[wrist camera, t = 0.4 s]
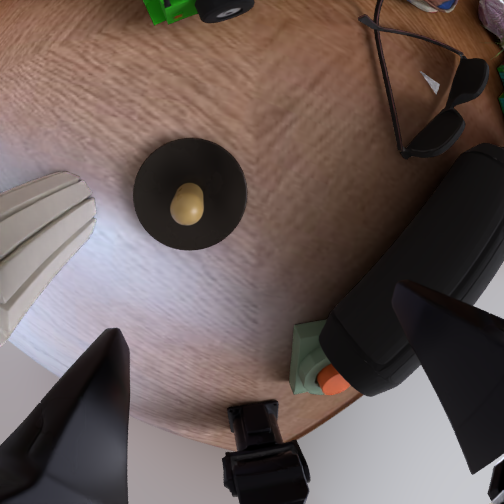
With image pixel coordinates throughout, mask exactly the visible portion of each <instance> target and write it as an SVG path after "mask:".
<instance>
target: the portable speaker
mask: <svg viewBox="0 0 504 504" xmlns="http://www.w3.org/2000/svg"><path fill="white" fill-rule="evenodd" d="M503 261H504V149H503V148H501V147H499V146H497V145H494V144H490V143H482V144H478V145H476V146H475V147H473V148H471V149H469V150H467V151H466V152H464V153H462V154H461V155H460V156H459V158H458V159H457V160H456V162H455V163H454V165H453V166H452V168H451V169H450V171H449V172H448V173H447V175H446V176H445V178H444V179H443V181H442V182H441V183H440V185H439V186H438V188H437V189H436V190H435V192H434V193H433V194H432V196H431V197H430V198H429V200H428V201H427V202H426V204H425V205H424V206H423V208H422V209H421V210H420V211H419V213H418V214H417V215H416V217H415V218H414V219H413V220H412V222H411V223H410V224H409V225H408V227H407V228H406V229H405V230H404V232H403V233H402V234H401V235H400V236H399V238H398V239H397V240H396V241H395V242H394V244H393V245H392V246H391V247H390V248H389V249H388V251H387V252H386V253H385V254H384V255H383V256H382V257H381V259H380V260H379V261H378V262H377V263H376V264H375V265H374V266H373V268H372V269H371V270H370V271H369V272H368V273H367V274H366V275H365V276H364V277H363V279H362V280H361V281H360V282H359V283H358V284H357V285H356V286H355V287H354V288H353V289H352V290H351V291H350V292H349V293H348V294H347V295H346V296H345V297H344V299H343V300H342V301H341V302H340V303H339V304H338V305H337V306H336V307H335V308H334V310H333V311H331V313H330V315H329V317H328V319H327V321H326V323H325V325H324V327H323V329H322V331H321V333H320V335H319V343H320V346H321V348H322V350H323V352H324V354H325V355H326V357H327V358H328V360H329V361H330V363H331V364H332V365H333V367H334V368H335V369H336V370H337V371H338V373H339V374H340V375H341V376H342V377H343V378H344V379H345V380H346V381H347V382H348V383H349V384H350V385H351V386H352V387H353V388H355V389H356V390H357V391H359V392H360V393H362V394H363V395H366V396H370V397H371V396H375V395H377V394H379V393H382V392H385V391H387V390H390V389H392V388H394V387H396V386H398V385H399V384H401V383H402V382H403V381H404V380H405V379H406V378H407V377H408V376H409V375H410V374H412V373H413V371H415V370H416V369H417V368H418V367H419V366H420V365H421V363H420V361H419V360H418V358H417V356H416V354H415V352H414V351H413V349H412V347H411V345H410V343H409V342H408V339H407V337H406V335H405V333H404V331H403V329H402V326H401V324H400V322H399V320H398V318H397V316H396V314H395V312H394V310H393V307H392V297H393V293H394V290H395V286H396V283H397V282H398V281H401V280H406V279H408V280H411V281H413V282H416V283H418V284H421V285H423V286H426V287H428V288H431V289H433V290H436V291H438V292H441V293H443V294H446V295H448V296H450V297H453V298H455V299H458V300H460V301H462V302H465V303H467V304H470V305H472V306H473V305H474V304H475V302H476V301H477V300H478V298H479V297H480V296H481V294H482V293H483V291H484V290H485V289H486V287H487V286H488V284H489V283H490V281H491V280H492V279H493V277H494V276H495V274H496V272H497V271H498V269H499V268H500V266H501V265H502V263H503Z"/></svg>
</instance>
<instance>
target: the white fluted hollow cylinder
mask: <svg viewBox="0 0 504 504" xmlns="http://www.w3.org/2000/svg"><path fill="white" fill-rule="evenodd" d="M78 181H79V176H76V175H74V174H72V173H69V172H64V173H63V171H60V172H56V173H52V174H49V175H46V176H43V177H40V178H37V179H35V180H32V181H29V182H27V183H24V184H21V185H19V186H16V187H14V188H11V189H9V190H7V191H4V192H2V193H0V347H1V346H2V345H3V344H4V343H5V342H6V341H7V339H8V338H9V337H10V335H11V334H12V332H13V331H14V329H15V328H16V327H17V325H18V324H19V322H20V321H21V319H22V318H23V317H24V315H25V314H26V313H27V311H28V310H29V309H30V307H31V306H32V305H33V303H34V302H35V301H36V299H37V298H38V297H39V295H40V294H41V293H42V292H43V290H44V289H45V288H46V287H47V285H48V284H49V283H50V282H51V281H52V279H53V278H54V277H55V276H56V275H57V273H58V272H59V271H60V270H61V269H62V268H63V267H64V265H65V264H66V263H67V262H68V261H69V260H70V259H71V257H72V256H73V255H74V254H75V253H76V252H77V251H78V250H79V249H80V248H81V247H82V245H83V244H84V243H85V242H86V241H87V240H88V239H89V238H90V237H89V236H90V235H91V234H92V233H93V230H94V226H95V223H96V218H93V217H94V216H95V215H96V214H97V212H96V206H95V200H94V198H90V199H87V198H88V197H89V196H90V195H91V194H92V192H91V190H90V189H89V187H88V186H87V185H86V183H85V182H84V180H82V181H80V182H78Z"/></svg>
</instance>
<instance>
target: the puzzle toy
mask: <svg viewBox="0 0 504 504" xmlns="http://www.w3.org/2000/svg"><path fill="white" fill-rule="evenodd" d="M497 69H498V72H499V74H500V77H501V79H502V82H503V85H504V62H503V63H502V64H501V65H500V66H499V67H498V68H497ZM498 99H499V102H500V105H501V108H502V111H503V114H504V92H503V93H502V94H501V95H500V96H499V98H498Z"/></svg>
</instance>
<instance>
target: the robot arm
mask: <svg viewBox="0 0 504 504" xmlns="http://www.w3.org/2000/svg"><path fill="white" fill-rule="evenodd" d="M392 307H393V310H394V312H395V314H396V316H397V318H398V320H399V322H400V324H401V326H402V329H403V331H404V333H405V335H406V337H407V339H408V342H409V343H410V345H411V347H412V349H413V351H414V352H415V354H416V356H417V358H418V360H419V361H420V363H421V365H422V367H423V369H424V371H425V372H426V374H427V376H428V378H429V380H430V382H431V384H432V386H433V388H434V390H435V392H436V394H437V396H438V397H439V400H440V402H441V404H442V406H443V408H444V410H445V412H446V414H447V416H448V419H449V421H450V423H451V425H452V428H453V430H454V431H455V435H456V437H457V439H458V442H459V444H460V447H461V449H462V451H463V454H464V456H465V459H466V462H467V464H468V467H469V470H470V472H471V474H472V475H473V474H475V473H476V472H478V471H479V470H481V469H482V468H484V467H485V466H487V465H488V464H490V463H491V462H493V461H494V460H495V459H497V458H498V457H500V456H501V455H502V454H504V319H502V318H500V317H498V316H495V315H493V314H489V313H488V312H486V311H484V310H481V309H479V308H477V307H474V306H472V305H470V304H467V303H465V302H462V301H460V300H458V299H455V298H453V297H450V296H448V295H446V294H443V293H441V292H438V291H436V290H433V289H431V288H428V287H426V286H423V285H421V284H418V283H416V282H413V281H411V280H408V279H406V280H401V281H398V282H397V283H396V286H395V290H394V293H393V297H392ZM278 405H279V404H278V401H276V400H274V401H268V402H262V403H256V404H249V405H241V406H234V407H229V408H227V412H228V418H229V423H230V428H231V432H233V433H234V435H235V440H236V446H237V452H226V453H225V454H226V456H225V457H224V458H222V462H223V470H224V486H225V487H226V488H228V489H229V490H230V492H231V493H232V496H233V497H238V499H239V503H240V504H305V503H306V499H307V496H308V494H309V488H308V484H307V483H308V482H310V473H309V469H308V465H307V463H306V460H305V458H304V456H303V454H302V452H301V449H300V447H299V445H298V443H297V440H292V441H291V442H286V443H283V440H282V437H281V434H280V430H279V427H278V424H277V418H278ZM129 406H130V351H129V347H128V345H127V343H126V341H125V338H124V336H123V334H122V332H121V330H120V329H119V328H108V329H106V330H105V331H104V332H103V333H102V334H101V335H100V336H99V337H98V338H97V339H96V340H95V341H94V342H93V343H92V344H91V345H90V346H89V348H88V349H87V350H86V351H85V352H84V353H83V354H82V355H81V356H80V357H79V358H78V359H77V361H76V362H75V363H74V364H73V365H72V366H71V367H70V368H69V369H68V371H67V372H66V373H65V374H64V375H63V376H62V377H61V378H60V379H59V381H58V382H57V383H56V384H55V385H54V386H53V387H52V389H51V390H50V391H49V392H48V393H47V394H46V396H45V397H44V398H43V399H42V400H41V403H39V404H38V405H37V406H36V407H35V409H34V410H33V411H32V412H31V413H30V414H29V416H28V417H27V418H26V419H25V420H24V421H23V422H22V423H21V424H20V426H19V427H18V428H17V429H16V430H15V431H14V432H13V433H12V434H11V435H10V436H9V437H8V438H7V439H6V440H5V441H4V442H3V443H2V444H1V445H0V504H128V487H127V446H128V445H127V443H128V421H129ZM488 495H489V497H490V499H491V501H492V502H491V503H490V504H504V457H503V458H502V459H501V460H500V461H499V462H498V463H497V464H496V465H495V466H494V468H493V473H492V478H491V482H490V486H489V490H488Z"/></svg>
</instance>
